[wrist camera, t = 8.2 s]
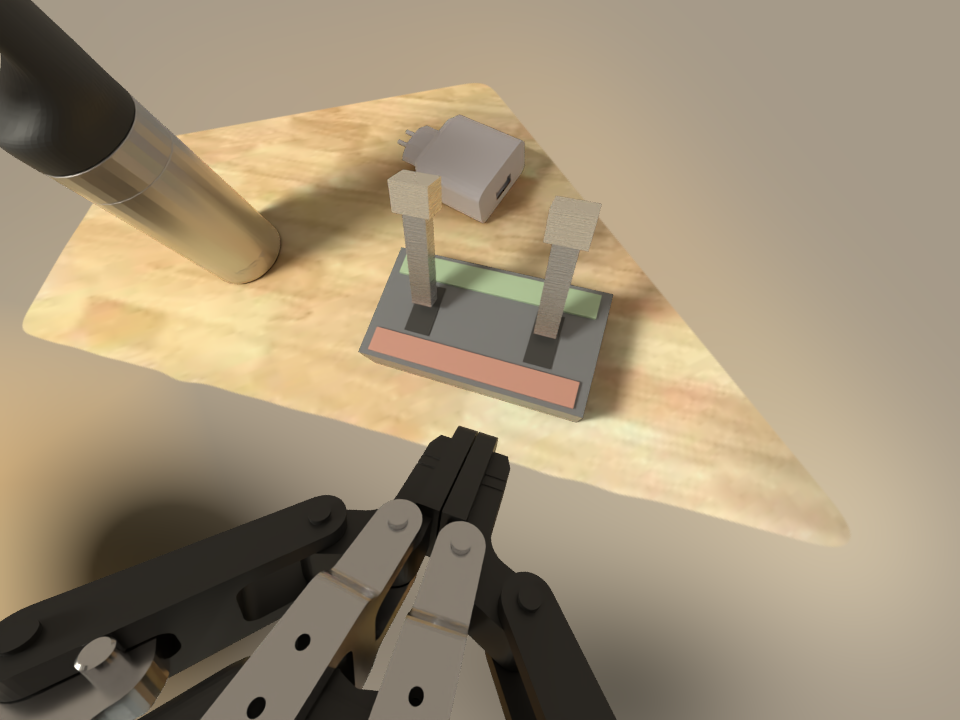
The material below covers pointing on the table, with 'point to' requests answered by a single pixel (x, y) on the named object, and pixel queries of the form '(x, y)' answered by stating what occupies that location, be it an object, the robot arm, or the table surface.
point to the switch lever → (563, 256)
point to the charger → (467, 163)
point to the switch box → (490, 336)
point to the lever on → (418, 228)
